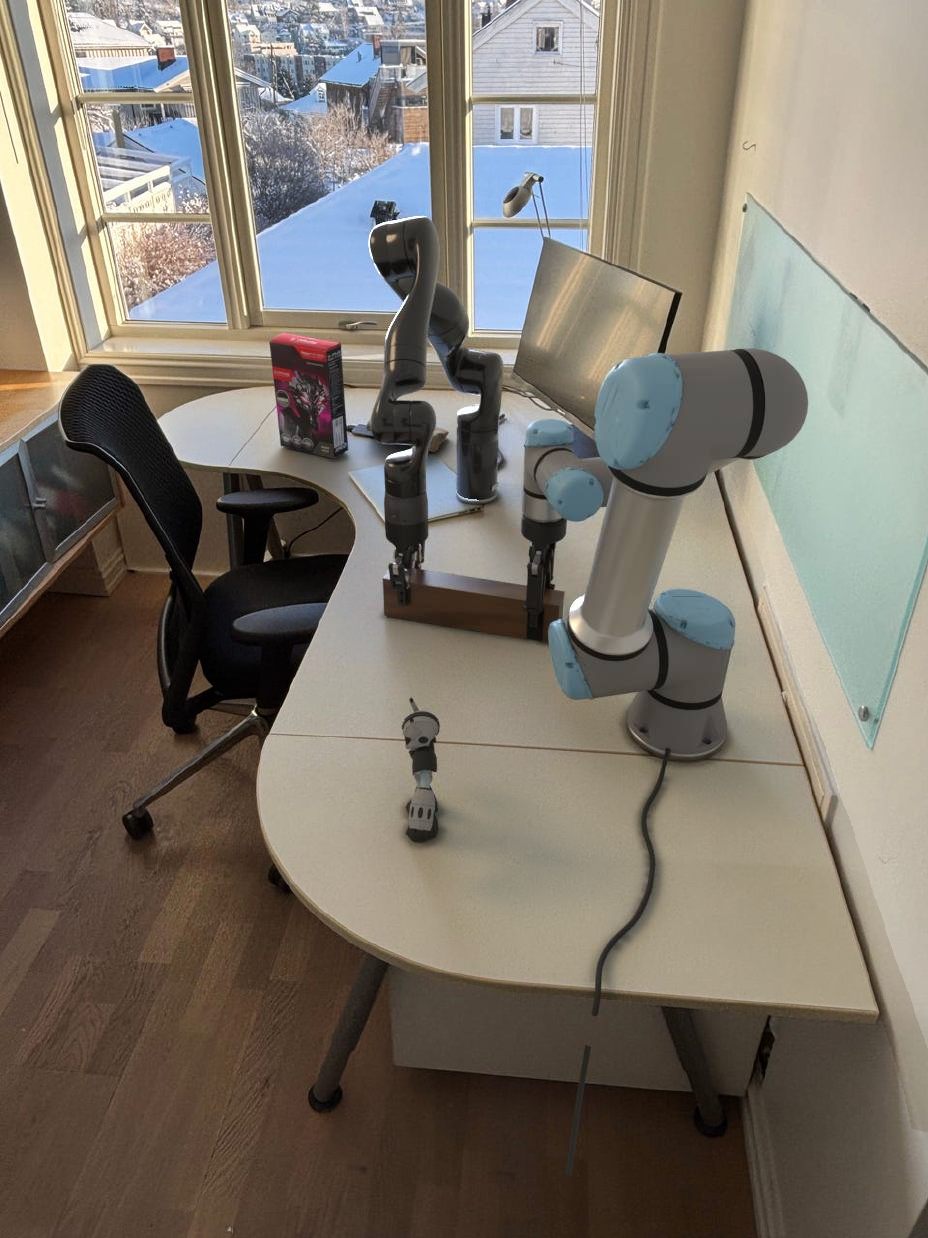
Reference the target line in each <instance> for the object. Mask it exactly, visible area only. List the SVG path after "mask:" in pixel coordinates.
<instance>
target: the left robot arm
mask: <svg viewBox="0 0 928 1238" xmlns="http://www.w3.org/2000/svg"><path fill="white" fill-rule="evenodd" d="M439 238H440V237H439V234H438V231H437V228H436V226H435V223H434V222H433V221H432V219H431V218H430V217H428V216H424V215H422V216H412V217H407V218H401V219H397V220H391V221H386V222H382V223H380V224H377V225H376V226H374V227H373V229H372V230H371V232H370V234H369V237H368V248H369V253H370V257H371V259H372V262H373V264H374V266H375V269H376V270H377V272H378V274H379V275H380V277H381V278H382V280H384V282H385V283H386V284H387V285H388V287H389V288H390V289H391V290H392V291H393V292H394V293H395V295H396V296H397V297H398V299H400V300H401V302H402V305H401V307H400V309H399V310H398V312H397V313H396V315H395V317H394V318H393V320H392V322H391V324H390V326H389V328H388V330H387V333H386V336H385V340H384V347H383V374H382V380H381V385H380V388H379V393H378V395H377V398H376V401H375V403H374V405H373V409H372V413H371V415H370V419H371V421H370V428H371V430H370V432H371V435H372V436H373V439H374V440H375V441H377V442H378V443H379V444H382V445H405V444H412V445H414V446H413V447H411V448H410V449H406V450H403V451H399V452H395V453H393V454H390V455H388V456H387V457H386V458H385V460H384V463H383V477H384V499H383V510H384V512H383V513H384V535H385V538H386V540H387V541H388V542H389V543H390V544H392V545H393V546H394V547H395V548H394V549H393V555H392V558H393V559H394V560H393V562H389V563H388V566H387V567H388V569H387V570H389V575H390V581H391V588H392V589H393V590H397V602H398V604H399V605H403V606H409V604H410V579H411V576H413V574H414V568H416V569H422V564H424V563H425V551H426V550H425V549H426V541H427V540H428V538H429V500H428V499H429V498H428V492H427V463H428V462H427V461H428V455H429V452H430V451H429V447H430V444H431V441H432V438H433V434H434V431H435V427H437V414H436V411H435V408H434V407H433V405H431V403H429V402H428V401H426V400H415V399H414V400H413V399H412V400H405V399H404V400H403V399H402V400H401V399H399V398H401V397H402V396H406V395H410V394H414V393H417V392H419V391H421V390H423V388H424V387H425V385H426V381H427V358H428V357H427V354H428V343H429V345H430V346H431V348H432V349H433V351H434V353H435V354H436V356H437V358H438V360H439V362H440V364H441V366H442V369H443V371H444V373H445V376H446V379H447V380H448V383H449V384H450V386H451V388H453V390H455V391H456V392H458V393H461V394H465V395H471V396H476V397H480V398H479V402H478V403H474V404H470V405H466V406H464V407H462V408H460V409H459V410H458V411H457V413H456V479H455V481H456V482H455V483H456V487H455V488H456V489H455V491H456V490H457V493H458V494H459V495H460V496H462V497H464V498H468V499H477V500H479V501H468V500H465V499H462V498H460V497H459V496H458V495H457V494H456V493H455V497H456V499H457V500H459V501H460V502H462V503H464V504H468V505H486V504H490V503H492V502H494V501H495V500H496V499H497V498H498V487H499V482H498V472H499V471H498V469H499V468H500V467H501V466H502V465H503V463H504V455H503V454H502V452H501V451H500V449H499V439H500V438H499V434H500V432H499V431H500V421H502V420H503V419H504V418H505V417H506V415H505V413H501V409H502V398H503V397H502V396H503V387H504V386H503V384H504V372H505V371H504V368H505V367H504V361H503V358H502V356H501V355H500V354H499V353H496V352H492V351H488V350H487V351H485V350H480V349H473V348H469V347H466V346H465V345H464V344H463V343H464V342H465V340H466V338H467V336H468V334H469V329H470V320H469V319H470V318H469V315H468V313H467V310H466V308H465V307H464V305H463V303H462V301H461V299H460V297H459V296H458V295H457V293H455V291H454V290H453V289H451V288H450V287H448V286H447V285H445V284H444V283H442V282H440V281H438V275H439V270H440V263H441V246H440V245H441V244H440V239H439ZM398 399H399V400H398ZM405 568H406V569H409V571H405ZM405 576H406V577H405Z"/></svg>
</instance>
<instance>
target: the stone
mask: <svg viewBox="0 0 928 1238" xmlns="http://www.w3.org/2000/svg"><path fill="white" fill-rule="evenodd" d="M370 421H371V418H369V419H368V422H367V424H366V427H365V428H366V430H367V431H368V432H371V428H370ZM448 435H449V431H448V430H447V429H444V428H442V427H439V426H436V427H435V431H434V434H433V438H432V441H431V444H430V447H429V451H428V452H431V453H436V452H437V451H438V450H439V448H440V445H441V444H442V443H443V442H444V441H445V440H446V439H447V436H448ZM404 445H405V446H410V447H411V448H412V447H413V446H414V445H412V444H404Z"/></svg>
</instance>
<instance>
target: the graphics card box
mask: <svg viewBox="0 0 928 1238" xmlns="http://www.w3.org/2000/svg"><path fill="white" fill-rule="evenodd" d="M268 343H269V351H270V359H271V360H270V361H271V368H272V377H273V387H274V396H275V406H276V415H277V423H278V434H279V442H280V443H279V444H280V447H283V448H288V449H292V450H296V451H301V452H304V453H310V454H313V455H317V456H322V457H326V458H329V459H330V458H331V459H336V458H338V457H339V456H341V455H342V454H345V453H346V452H347V451H349V443H348V442H349V441H348V427H347V426H348V425H347V413H346V398H345V384H344V382H345V381H344V370H343V369H344V368H343V355H342V343H341V341H329V340H324V339H320V338H314V337H309V336H304V335H298V334H293V333H288V332H282V333H280V334H277V335H276V336H274V337H273V338H271V339H270V340H269V341H268Z"/></svg>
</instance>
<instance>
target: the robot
mask: <svg viewBox="0 0 928 1238" xmlns="http://www.w3.org/2000/svg"><path fill="white" fill-rule="evenodd" d="M408 700H409V703H410V705H411V708H412V711H413V712H411V713H409V714H408V715H407V716H406V717H405V718H403V721H402V723H401V727H400V728H401V731H402V732H401V733H402V735H403V737H404V743H405V744H404V745H405V746H404V747H405V749H406V750H408V754H409V756H410V758H411V761H412V762H411V763H412V764H411V771H412V776H413V778H414V779H415V782H416V787H415V789H414V791H413V792H414V793H413V795H412V797H411V799H410V800H409V801H408V802H407V803H406V805H405V809H406V811H407V814H408V827H407V829H406V831H405V835H406V836H407V837H408V839H410V840H411V841H412V842H416V843H425V842H428V841H430V840H432V839H435V838H437V835H438V832H439V830H440V828H439V820H438V817H437V815H436V813H438V811H439V808H438V799H437V797H436V794H435V792H434V789H433V788H432V785H431V783H432V782H433V773H437V772H438V757H437V754H436V752H435V744H437V737H436V736H438V735H439V733H440V730H441V729H440V728H441V724H440V721H439V718H438V717H437V716H436V715H435V714H433V713H432V712H430V711H428V710H424V709H423V710H420V709H419V707H418V705H417V704H416V702H415V700H414V698H413V697H409V699H408Z"/></svg>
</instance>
